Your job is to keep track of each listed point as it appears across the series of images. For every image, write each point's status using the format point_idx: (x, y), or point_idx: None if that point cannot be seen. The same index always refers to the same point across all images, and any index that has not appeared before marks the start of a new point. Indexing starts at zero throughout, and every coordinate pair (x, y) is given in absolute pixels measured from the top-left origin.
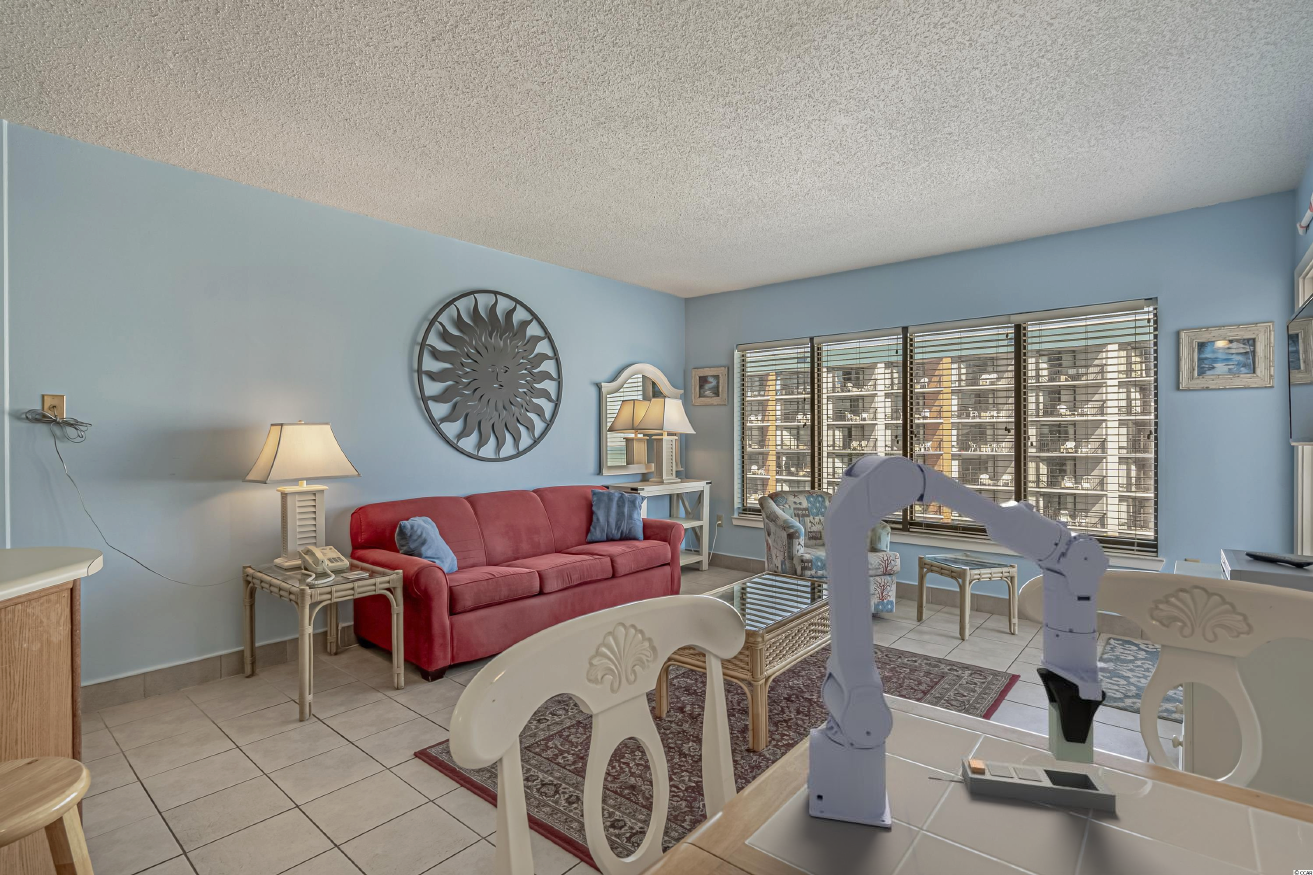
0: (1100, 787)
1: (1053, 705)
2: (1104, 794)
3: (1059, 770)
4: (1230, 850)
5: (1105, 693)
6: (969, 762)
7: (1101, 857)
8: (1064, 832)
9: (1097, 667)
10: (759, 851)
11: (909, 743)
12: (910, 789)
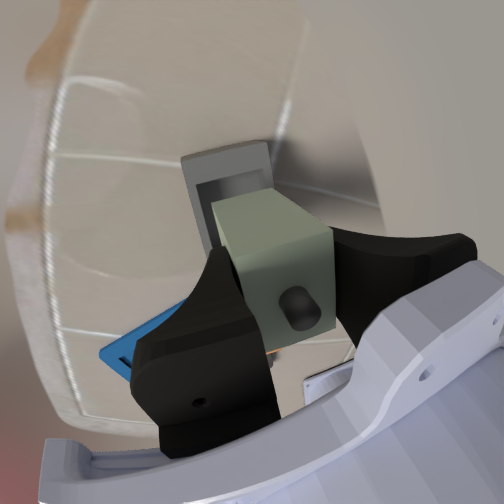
0: (245, 164)
1: (282, 340)
2: (269, 160)
3: (205, 233)
4: (270, 9)
5: (470, 240)
6: (267, 353)
7: (359, 178)
8: (320, 215)
9: (498, 345)
10: None
11: None
12: (285, 368)
